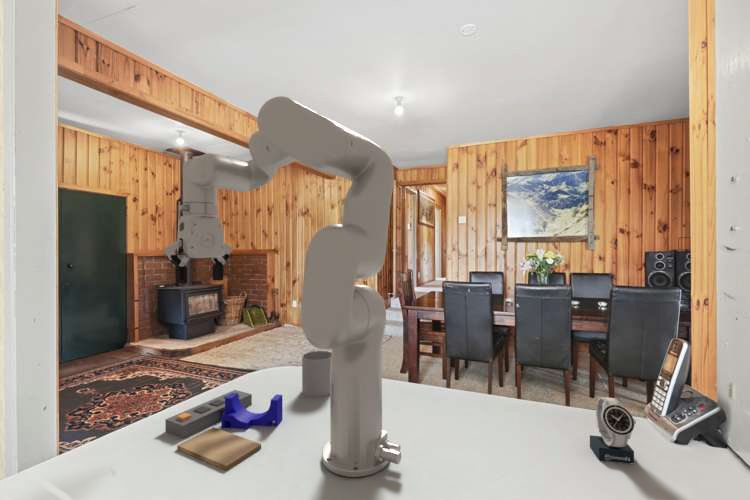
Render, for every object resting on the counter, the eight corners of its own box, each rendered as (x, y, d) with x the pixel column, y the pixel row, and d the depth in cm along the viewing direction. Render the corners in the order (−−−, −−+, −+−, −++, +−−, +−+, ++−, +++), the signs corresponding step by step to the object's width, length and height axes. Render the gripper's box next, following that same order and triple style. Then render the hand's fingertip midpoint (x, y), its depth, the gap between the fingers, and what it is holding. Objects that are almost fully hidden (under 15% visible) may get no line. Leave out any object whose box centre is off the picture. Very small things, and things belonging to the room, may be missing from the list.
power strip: (234, 401, 92) (234, 387, 92) (252, 406, 89) (252, 391, 89) (165, 433, 76) (165, 416, 76) (184, 440, 73) (184, 423, 73)
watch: (603, 472, 62) (603, 408, 62) (586, 446, 70) (586, 390, 69) (640, 476, 60) (640, 411, 60) (618, 449, 68) (618, 392, 68)
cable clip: (221, 428, 78) (221, 401, 78) (231, 418, 82) (231, 392, 82) (274, 431, 76) (274, 403, 76) (282, 421, 81) (282, 394, 81)
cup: (323, 384, 102) (323, 349, 102) (339, 393, 96) (339, 355, 96) (296, 391, 97) (296, 354, 97) (312, 401, 91) (311, 362, 91)
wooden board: (261, 448, 69) (261, 444, 69) (226, 470, 62) (226, 466, 62) (213, 430, 76) (213, 427, 76) (177, 449, 69) (177, 445, 69)
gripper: (175, 207, 78) (175, 285, 78) (240, 213, 93) (240, 279, 93) (155, 209, 81) (155, 284, 81) (220, 215, 97) (220, 278, 97)
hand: (200, 281), depth 87 cm, fingers open, 9 cm apart
